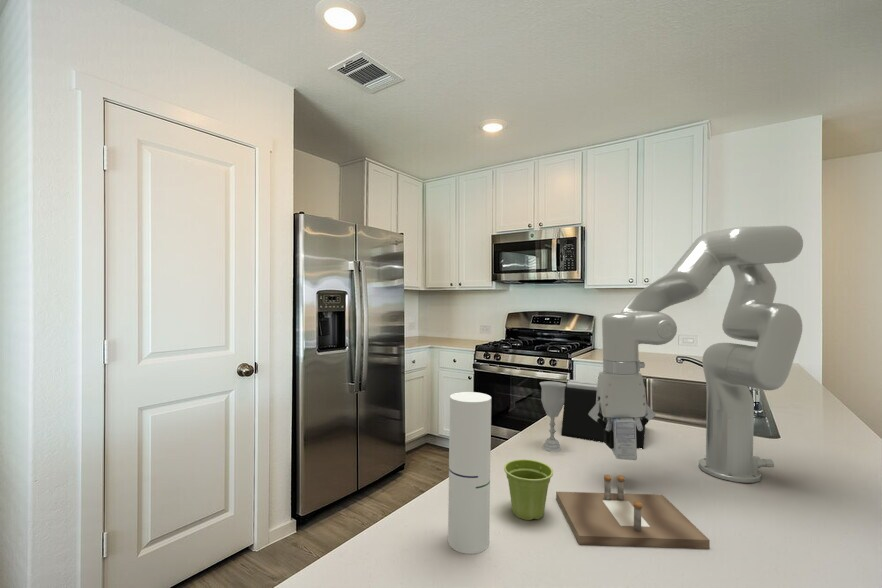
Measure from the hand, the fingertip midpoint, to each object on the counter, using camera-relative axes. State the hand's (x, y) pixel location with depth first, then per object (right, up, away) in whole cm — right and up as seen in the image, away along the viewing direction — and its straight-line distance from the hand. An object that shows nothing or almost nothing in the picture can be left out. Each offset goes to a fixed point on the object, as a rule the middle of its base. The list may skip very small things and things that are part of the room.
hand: (622, 445), depth 95 cm
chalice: (-10, -9, +21) cm, 25 cm away
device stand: (+10, -9, +36) cm, 39 cm away
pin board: (-7, -9, -16) cm, 19 cm away
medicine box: (0, -2, 0) cm, 2 cm away
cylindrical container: (-37, -8, -23) cm, 44 cm away
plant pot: (-24, -8, -14) cm, 29 cm away
